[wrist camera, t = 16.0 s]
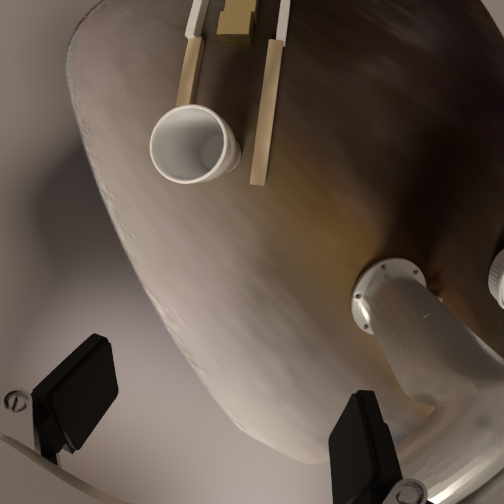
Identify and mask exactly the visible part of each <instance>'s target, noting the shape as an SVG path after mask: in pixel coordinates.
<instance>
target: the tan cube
mask: <svg viewBox="0 0 504 504" xmlns="http://www.w3.org/2000/svg"><path fill="white" fill-rule="evenodd" d="M224 11H251V13H252V18H253V23H254V24H257V20H258V11H259V0H226V3H225V8H224Z"/></svg>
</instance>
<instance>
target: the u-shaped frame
mask: <svg viewBox="0 0 504 504" xmlns="http://www.w3.org/2000/svg"><path fill="white" fill-rule="evenodd" d="M208 3H209V0H194V2H193V6H192V9H191V13H190V17H189V20H188V24H187V28H186V32H185V36H186V37H187V38H188V40H189V38H191V37H200V36H201V32H202V28H203V23H204V19H205V15H206V11H207V7H208ZM290 3H291V0H281V5H280V12H279V19H278V27H277V34H276V40H282V41H283V47H285V44H286V36H287V28H288V19H289V11H290Z"/></svg>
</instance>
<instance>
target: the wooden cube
mask: <svg viewBox="0 0 504 504" xmlns="http://www.w3.org/2000/svg"><path fill="white" fill-rule="evenodd" d="M253 26H254V23H253V18H252V13H251V11H223V12H220V17H219V23H218V29H217V36H218V38H219V40H220V42H221V44H222V46H251V43H252V35H253Z"/></svg>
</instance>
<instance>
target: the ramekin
mask: <svg viewBox="0 0 504 504" xmlns="http://www.w3.org/2000/svg"><path fill="white" fill-rule="evenodd" d="M488 285H489V289H490V292H491V294H492V295H493V296H494V298H495V299H496V300H497V301H498V303H499V305H500V306H501V307H502V308H503V309H504V249H503V250H502V251H500V252H499V253H498V254H497V256H496V257H495V259H494V260H493V262H492V265H491V267H490V271H489V276H488Z"/></svg>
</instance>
